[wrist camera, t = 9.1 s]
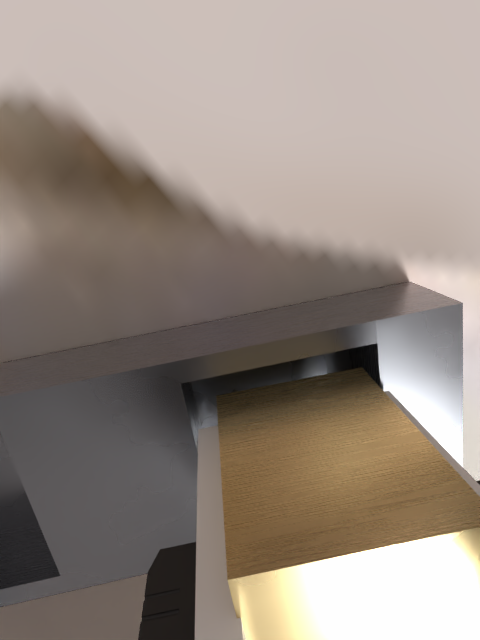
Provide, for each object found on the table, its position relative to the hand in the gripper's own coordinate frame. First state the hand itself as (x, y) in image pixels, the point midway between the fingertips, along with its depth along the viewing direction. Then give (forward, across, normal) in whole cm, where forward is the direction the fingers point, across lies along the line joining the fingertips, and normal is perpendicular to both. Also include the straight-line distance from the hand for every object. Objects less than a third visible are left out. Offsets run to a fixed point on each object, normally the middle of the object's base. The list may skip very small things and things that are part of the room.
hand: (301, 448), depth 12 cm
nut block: (0, 0, 0) cm, 0 cm away
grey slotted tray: (+3, -6, 0) cm, 7 cm away
